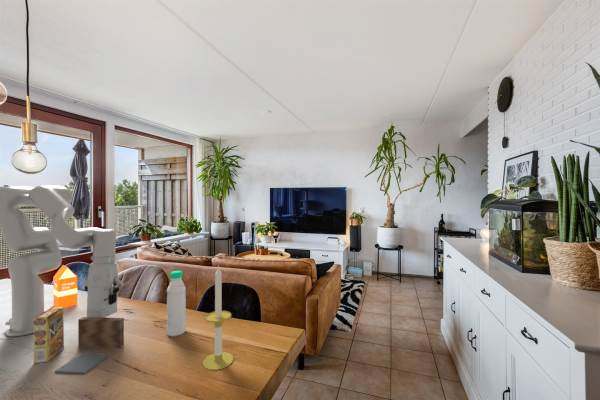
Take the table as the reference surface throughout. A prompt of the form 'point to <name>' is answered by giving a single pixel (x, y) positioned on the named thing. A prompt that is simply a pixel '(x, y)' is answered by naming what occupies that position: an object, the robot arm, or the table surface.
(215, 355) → the candle
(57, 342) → the candy box
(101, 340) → the walnut screen
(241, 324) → the table surface
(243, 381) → the table surface
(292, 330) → the table surface
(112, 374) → the table surface
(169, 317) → the water bottle
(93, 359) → the mat
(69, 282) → the orange juice
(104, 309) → the supplement box
